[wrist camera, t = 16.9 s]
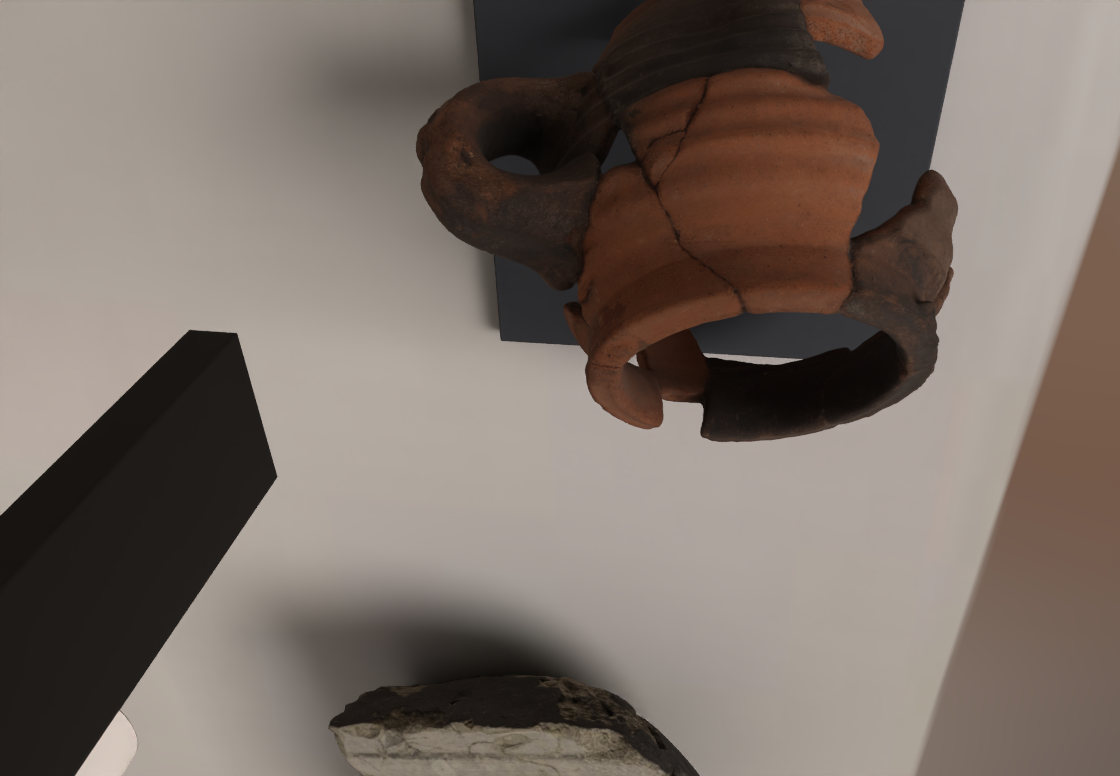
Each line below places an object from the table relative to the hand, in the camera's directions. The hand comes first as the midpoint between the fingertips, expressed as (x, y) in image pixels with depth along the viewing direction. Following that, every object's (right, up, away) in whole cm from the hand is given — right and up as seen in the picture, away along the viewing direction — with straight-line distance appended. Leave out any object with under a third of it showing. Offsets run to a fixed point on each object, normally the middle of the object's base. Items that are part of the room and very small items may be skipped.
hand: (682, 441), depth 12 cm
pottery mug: (+2, +6, +10) cm, 12 cm away
